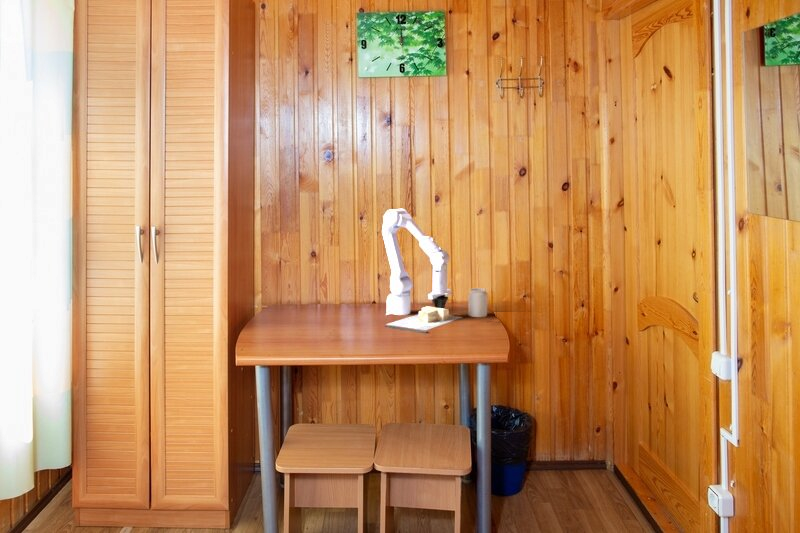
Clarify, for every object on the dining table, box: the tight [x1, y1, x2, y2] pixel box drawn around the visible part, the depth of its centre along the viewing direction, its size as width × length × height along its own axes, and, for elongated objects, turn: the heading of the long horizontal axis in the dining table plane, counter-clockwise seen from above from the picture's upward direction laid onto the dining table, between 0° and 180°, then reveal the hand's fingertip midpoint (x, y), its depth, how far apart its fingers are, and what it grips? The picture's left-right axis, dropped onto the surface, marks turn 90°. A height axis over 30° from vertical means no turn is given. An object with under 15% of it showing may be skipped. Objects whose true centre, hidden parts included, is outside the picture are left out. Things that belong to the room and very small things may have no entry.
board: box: [385, 313, 463, 334], centre depth 259 cm, size 18×28×1 cm, turn 146°
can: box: [468, 287, 488, 318], centre depth 269 cm, size 8×8×12 cm
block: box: [418, 306, 450, 323], centre depth 260 cm, size 10×11×4 cm
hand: (439, 314), depth 266 cm, fingers closed
